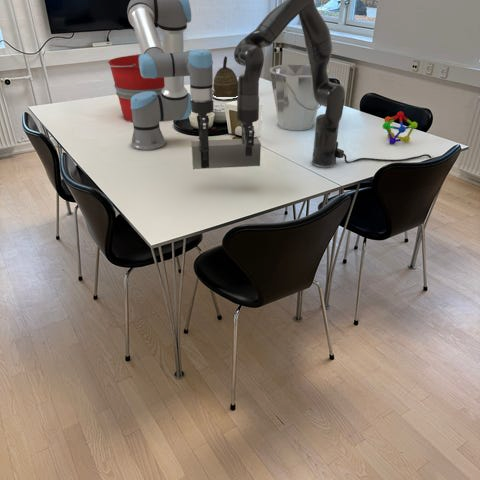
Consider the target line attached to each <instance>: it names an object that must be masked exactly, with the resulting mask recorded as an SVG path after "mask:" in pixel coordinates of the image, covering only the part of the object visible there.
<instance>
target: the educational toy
mask: <svg viewBox="0 0 480 480" xmlns="http://www.w3.org/2000/svg"><path fill="white" fill-rule="evenodd" d="M397 119H399V124H400V125H399V127H398V126H393V125H391V124H392V123H394V122H395V121H396V120H397ZM403 120H404V121H405V122H407V123H408V124H409V125H407V126H404V123H403ZM417 127H418V122H417V121H411V120H410V119H409V118H408V117H406V116H405V113H404V112H403V111H401V110H400V111H398V112H397V114H396V115H394V116H391V117H390V116H386V117H385V118H384V122H383V123H382V129H383V130H386V132H387V138H388V142H389V145H395V144H396V143H397V142H402V141H403V142H404V143H409V142H410V140H411V138H410V136H411V134H412V132H413V131H414V130H415V129H417ZM392 129H393V130H397V131H398V132H396V134H395V133H394V132H392ZM408 129H409V131H408V133H407V134H406V135H404V136H401V134H403V133H405V132H406V130H408ZM399 135H400V136H399Z"/></svg>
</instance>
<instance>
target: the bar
mask: <svg viewBox="0 0 480 480" xmlns="http://www.w3.org/2000/svg"><path fill="white" fill-rule="evenodd" d="M208 142H209V168H202V167H201V151H199V150H200V149H201V141H200V140H191V141H190V144H191V145H190V146H191V158H192V159H191V162H192V163H191V165H192V170H202V169H204V170H205V169H224V168H226V169H227V168H244V167H247V168H248V167H261V148H262V144H261V140H260V139H259V138H258V137H254V146H252V156H246V145H245V140H244V139H242V138H231V139H230V138H229V139H208ZM248 143H251V141H248Z"/></svg>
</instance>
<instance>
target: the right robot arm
mask: <svg viewBox="0 0 480 480" xmlns="http://www.w3.org/2000/svg"><path fill="white" fill-rule="evenodd" d="M297 16H298V17H299V21H300V26H301V31H302V35H303V40H304V45H305V51H306V54H307V58H308V62H309V65H310V68H311V74H312V82H313V91H314V98H315V100H316V102H317V103H318V104H319V106H320V105H321V107H325V112H324V113H321V114H319V115H318V116H317V115H316V117H315V129H314V139H313V141H314V142H313V148H312V160H311V165H312V166H314V167H316V168H322V169H328V168H332V167H334V166H335V165H336V163H337V159H342V158H344V162H345V163H346V164H352V163H356V162H358V161H374V162H375V161H376V162H406V161H411V160H414V159H420V158H423V157H428V158H430V159H432V156H431V155H430V154H427V153H426V154H425V153H423V154H420V155H417V156H411V157H408V158H401V159H390V158H389V159H386V158H375V157H373V158H372V157H359V158H356V159H355V160H352V161H348V160H347V154H345V150H343V149H341V148H339V142H338V133H339V126H340V122H341V119H342V117H343V111H344V105H345V100H346V89H345V87H344V86H343V85H341V84H338V83H335V82H331V81H330V79H329V75H328V73H327V69H328V65H329V62H330V60H331V57H332V53H333V43H332V36H331V31H330V28H329V26H328V25H327V23H326V21H325V19H324V17H323V16H322V14H321V13H320V11H319V10H318V7H317V6H316V3H315V0H284V1H282V3H280V4H279V5H278V6H276V7H275V8H273V9H272V10H271V11H269V12H268V14H267V15H266V16H264V18H263V19H262V21H261V22H260V23H259V24H258V26H257V27H256V28H255V29H253V31H251V32H250V33H249V34H248V35H246V36H244V37H243V39H242V40H241V41H239V42H238V44H237V45H236V47H235V49H234V52H233V59H234V61H235V62H236V64H238V65H239V66H243V67H245V69H244V73H242V74H240V75H239V76H238V77H237V79H238V97H237V99H236V120H237V121H239V122H241V125H240V126H241V139H244V140H245V145H246V156H252V146H254V138H255V133H256V132H255V126H254V124H253V123H256V122H257V121H259V117H260V95H259V94H260V93H259V91H260V78H261V75H262V72H263V68H264V62H265V54H264V51H263V49H264V48H268V47H271V46H272V45H273V43H274V42H275V41H276V40H277V39H278V37H279V36H280V35H281V34H282V32H283V31H284V30H285V29H286V28H287V26H288V25H290V24H291V22H292V21H294V19H295V18H296V17H297ZM248 141H251V143H248Z"/></svg>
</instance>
